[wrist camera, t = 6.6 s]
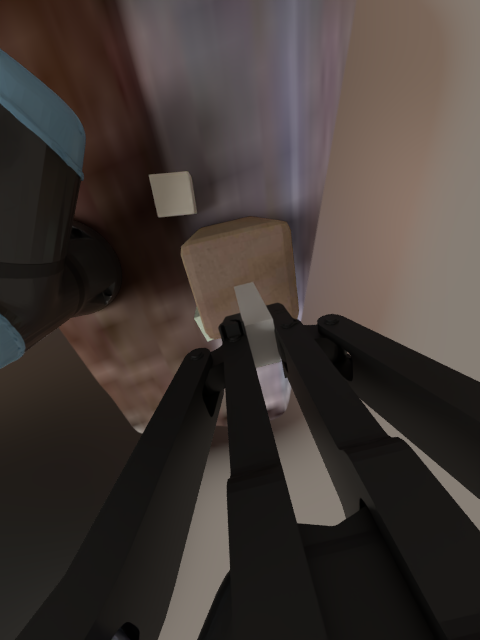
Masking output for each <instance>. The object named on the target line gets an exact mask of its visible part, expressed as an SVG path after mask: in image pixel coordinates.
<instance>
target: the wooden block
mask: <svg viewBox="0 0 480 640" xmlns="http://www.w3.org/2000/svg"><path fill="white" fill-rule="evenodd" d="M181 258H182V261H183V264H184V267H185V270H186V274H187V277H188V280H189V283H190V286H191V289H192V292H193V296H194V299H195V302H196V305H197V308H198V311H199V314H200V318H201V321H202V324H203V327H204V330H205V332H206V334H207V335H208V336H209V337H210V339H219V338H221V336H220V332H219V329H218V327H219V325H220V324H221V323H222V322H223V320H224V318H225V317H226V316H230V315H233V314H237V313H240V309H239V305H238V301H237V297H236V293H235V289H234V287H235V286H239V285H243V284H247V283H251V282H253V283H254V285H255V287H256V288H257V290H258V292H259V294H260V296H261V298H262V300H263V301H264V303H265V305H270V304H274V303H280V304H283V305H284V307H285V308H286V309H287V311H288V312H289V314H290V315H291V316H292V318H294V319H297V318H298V313H299V306H298V296H297V287H296V277H295V267H294V258H293V248H292V238H291V229H290V228H289V226H288V224H287V222H285V221H280V220H274V219H267V218H259V217H252V216H249V217H245V218H241V219H236V220H232V221H228V222H224V223H219V224H215V225H211V226H206V227H202V228H200V229H199V230H197V231H196V232H195V233H194V234H193V235H192V236H191V237H190V238H189V239H188V240H187V241H186V242H185V243H184V244H183V245H182V246H181Z"/></svg>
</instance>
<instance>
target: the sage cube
mask: <svg viewBox="0 0 480 640" xmlns="http://www.w3.org/2000/svg"><path fill="white" fill-rule="evenodd" d="M194 319H195V321H196V322H197V324H198V326H199V328H200V329H201V331H202V333H203V334H204V336H205V338H206V339H207V341H210V340H213V339H210V337H209V336H208V335H207V334H206V332H205V330H204V327H203V324H202V321H201V318H200V314H199V311H198V308H197V307H196V312H195V317H194Z"/></svg>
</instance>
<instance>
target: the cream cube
mask: <svg viewBox="0 0 480 640" xmlns="http://www.w3.org/2000/svg"><path fill="white" fill-rule="evenodd" d="M149 179H150V184H151V188H152V192H153V197H154V201H155V206H156V210H157V215H158V217H168V216H178V215H188V214H197V208H196V202H195V196H194V189H193V183H192V176H191V175H190V174H189V172H188V171H183V172H173V173H162V174H151V175H149Z"/></svg>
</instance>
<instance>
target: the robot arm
mask: <svg viewBox="0 0 480 640" xmlns="http://www.w3.org/2000/svg"><path fill="white" fill-rule="evenodd" d="M85 143H86V136H85V131H84V128H83V126H82V124H81V122H80V120H79V118H78V117H77V116H76V114H75V113H74V112H73V111H72V109H71V108H70V107H69V106H68V105H67V104H66V103H65V102H64V101H63V100H62V99H61V98H60V97H59V96H58V95H57V94H55V93H54V92H53V91H52V90H51V89H50V88H49V87H47V86H46V85H45V84H44V83H43V82H41V81H40V80H39V79H38V78H37V77H35V76H34V75H33V74H32V73H31V72H29V71H28V70H27V69H26V68H24V67H23V66H22V65H21V64H19V63H18V62H17V61H16V60H14V59H13V58H12V57H10V56H9V55H8V54H7V53H5V52H4V51H3V50H1V49H0V369H1V368H2V367H4V366H5V365H7V364H9V363H11V362H13V361H16V360H18V359H19V358H20V357H21V356H23V355H22V354H24V352H26V351H27V350H28V349H30V348H31V347H32V346H34V345H35V344H36V343H38V342H39V341H40V340H42V339H43V338H44V337H46V336H47V335H48V334H50V333H51V332H53V331H54V330H55V329H57V328H58V327H59V326H61V325H62V324H63V323H65V322H66V321H67V320H69V319H70V318H72V317H77V316H83V315H88V314H92V313H95V312H97V311H99V310H101V309H103V308H104V307H105V306H107V305H108V304H109V303H110V302H111V301H112V300H113V299H114V298H115V297H116V296H117V294H118V292H119V290H120V287H121V282H122V271H121V266H120V263H119V260H118V258H117V256H116V254H115V252H114V250H113V249H112V247H111V246H110V245H109V243H108V242H107V241H106V240H105V239H104V238H103V237H102V236H101V235H100V234H98V233H97V232H96V231H94V230H93V229H91V228H90V227H88V226H86V225H84V224H82V223H79V222H76V221H73V219H74V214H75V209H76V204H77V199H78V193H79V188H80V183H81V181H83V179H84V174H83V172H82V166H83V159H84V151H85ZM234 289H235V293H236V297H237V301H238V305H239V309H240V313H237V314H233V315H230V316H226V317H225V318H224V320H223V322H222V323H221V324H220V325H219V327H218V329H219V332H220V336H221V339H222V344H223V345H222V346H221V347H219V348H218V349H216V350H214V351H212V352H210V351H209V349H207V348H198V349H195V350H192V351H191V352H190V353H188V354H187V355H186V356H185V358H184V360H183V362H182V363H181V365H180V367H179V369H178V371H177V372H176V374H175V376H174V378H173V380H172V382H171V383H170V385H169V387H168V389H167V391H166V392H165V394H164V396H163V398H162V400H161V401H160V403H159V405H158V407H157V409H156V411H155V412H154V414H153V416H152V418H151V420H150V421H149V423H148V425H147V427H146V429H145V430H144V432H143V434H142V436H141V438H140V440H139V441H138V443H137V445H136V447H135V449H134V450H133V452H132V454H131V456H130V458H129V459H128V461H127V464H126V465H125V467H124V469H123V470H122V472H121V474H120V476H119V478H118V479H117V481H116V483H115V485H114V487H113V489H112V491H111V492H110V494H109V496H108V498H107V499H106V501H105V503H104V505H103V507H102V508H101V510H100V512H99V514H98V516H97V517H96V519H95V521H94V523H93V525H92V527H91V528H90V530H89V532H88V534H87V536H86V538H85V539H84V541H83V543H82V545H81V546H80V549H79V550H78V552H77V554H76V556H75V557H74V559H73V561H72V563H71V565H70V566H69V568H68V570H67V572H66V574H65V575H64V577H63V578H62V579H61V581H60V582H59V583H58V585H57V586H56V587H55V588H54V590H53V591H52V592H51V594H50V595H49V596H48V597H47V599H46V600H45V601H44V603H43V604H42V605H41V607H40V608H39V609H38V611H37V612H36V613H35V614H34V616H33V617H32V618H31V619H30V621H29V622H28V623H27V625H26V626H25V627H24V629H23V630H22V631H21V632H20V634H19V635H18V636H17V638H16V639H15V640H158V637H159V634H160V631H161V629H162V626H163V623H164V621H165V618H166V614H167V611H168V607H169V604H170V600H171V597H172V594H173V590H174V587H175V583H176V579H177V575H178V571H179V567H180V563H181V559H182V555H183V551H184V548H185V544H186V540H187V535H188V532H189V528H190V524H191V520H192V516H193V512H194V508H195V504H196V501H197V496H198V493H199V489H200V485H201V481H202V477H203V473H204V469H205V465H206V461H207V457H208V454H209V449H210V445H211V442H212V438H213V434H214V430H215V426H216V422H217V418H218V414H219V410H220V407H221V403H222V399H223V395H224V389H225V391H226V406H227V422H228V436H229V453H230V468H231V476H230V478H229V479H228V481H227V509H228V529H229V530H228V531H229V553H230V571H229V572H228V573H227V575H226V576H225V578H224V580H223V582H222V584H221V585H220V587H219V589H218V591H217V594H216V596H215V598H214V601H213V603H212V605H211V608H210V610H209V613H208V615H207V618H206V620H205V622H204V625H203V627H202V629H201V632H200V634H199V637H198V639H197V640H480V531H479V530H478V528H477V527H476V526H475V525H474V523H473V522H472V521H471V520H470V519H469V517H468V516H467V515H466V514H465V513H464V511H463V510H462V509H461V508H460V506H459V505H458V504H457V503H456V502H455V500H454V499H453V498H452V497H451V496H450V494H449V493H448V492H447V491H446V490H445V488H444V487H443V486H442V485H441V483H440V482H439V481H438V480H437V479H436V478H435V476H434V475H433V474H432V473H431V471H430V470H429V469H428V468H427V466H426V465H425V464H424V463H423V462H422V461H421V459H420V458H419V457H418V455H417V454H416V453H415V452H414V451H413V449H412V448H411V447H410V446H409V445H408V444H407V443H406V442H405V441H404V440H402V439H400V438H399V437H390V436H388V435H387V433H386V432H385V431H384V430H383V429H382V427H381V426H380V425H379V423H378V422H377V421H376V419H375V418H374V417H373V416H372V414H371V413H370V412H369V410H368V409H367V408H366V406H365V405H364V404H363V403H362V401H364V402H365V403H366V404H367V405H368V406H369V407H371V408H372V409H373V410H374V411H375V412H377V413H378V414H379V415H380V416H381V417H382V418H384V419H385V420H386V421H387V422H388V423H390V424H391V425H392V426H393V427H394V428H396V429H397V430H398V431H399V432H400V433H402V434H403V435H404V436H405V437H407V439H409V440H410V441H411V442H412V443H413V444H415V445H416V446H417V447H418V448H419V449H421V450H422V451H423V452H424V453H425V454H427V455H428V456H429V457H430V458H431V459H432V460H434V461H435V462H436V463H437V464H438V465H439V466H441V467H442V468H443V469H444V470H445V471H447V472H448V473H449V474H450V475H451V476H452V477H454V478H455V479H456V480H457V481H459V482H460V483H461V484H462V485H463V486H464V487H466V488H467V489H468V490H469V491H470V492H472V493H473V494H474V495H475V496H476V497H477V498H479V499H480V382H478V381H476V380H474V379H472V378H470V377H468V376H466V375H464V374H462V373H460V372H458V371H455V370H453V369H451V368H449V367H447V366H445V365H443V364H441V363H439V362H437V361H435V360H433V359H431V358H428V357H426V356H424V355H422V354H420V353H418V352H416V351H414V350H412V349H410V348H407V347H406V346H403V345H401V344H399V343H397V342H395V341H393V340H391V339H389V338H387V337H384V336H383V335H381V334H379V333H376V332H374V331H372V330H370V329H368V328H366V327H364V326H362V325H360V324H358V323H356V322H354V321H352V320H350V319H347V318H345V317H343V316H341V315H335V314H328V315H325V316H322V317H320V318H319V319H318V320H317V322H318V323H317V324H318V325H303V324H302V323H301V321H299V320H298V319H294V318H292V316H291V315H290V314H289V312H288V311H287V309H286V308H285V307H284V305H283V304H280V303H274V304H270V305H265V303H264V301H263V300H262V298H261V296H260V294H259V292H258V290H257V288H256V287H255V285H254V283H253V282H251V283H247V284H243V285H239V286H235V287H234ZM347 352H348V353H349V354H350V355H351V356H350V355H349V354H347ZM280 357H281V359H282V364H283V370H284V375H285V378H288V380H289V382H290V385H291V387H292V389H293V391H294V394H295V396H296V398H297V401H298V403H299V405H300V408H301V410H302V412H303V415H304V417H305V419H306V422H307V424H308V426H309V429H310V430H311V433H312V435H313V438H314V440H315V443H316V445H317V447H318V449H319V452H320V454H321V456H322V459H323V461H324V463H325V466H326V468H327V470H328V473H329V475H330V477H331V480H332V482H333V484H334V487H335V489H336V491H337V494H338V496H339V498H340V501H341V504H342V506H343V510H344V513H345V516H346V519H345V520H344V521H342V522H341V523H340V524H338V525H336V526H322V525H310V524H298V523H297V522H296V518H295V514H294V511H293V507H292V503H291V500H290V495H289V492H288V488H287V484H286V480H285V476H284V473H283V469H282V465H281V462H280V458H279V454H278V451H277V447H276V443H275V439H274V435H273V432H272V428H271V424H270V420H269V417H268V413H267V409H266V405H265V401H264V398H263V394H262V390H261V386H260V383H259V379H258V375H257V371H256V368H258V367H262V366H266V365H269V364H273V363H277V362H281V360H280ZM359 398H360V399H361V400H362V401H361V400H360V399H359Z"/></svg>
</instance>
